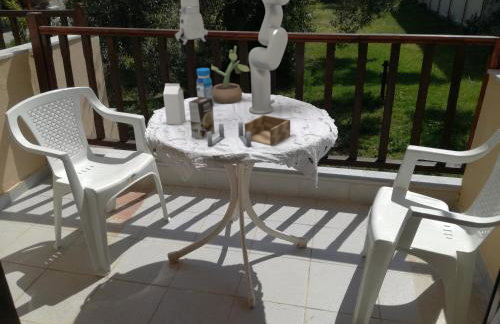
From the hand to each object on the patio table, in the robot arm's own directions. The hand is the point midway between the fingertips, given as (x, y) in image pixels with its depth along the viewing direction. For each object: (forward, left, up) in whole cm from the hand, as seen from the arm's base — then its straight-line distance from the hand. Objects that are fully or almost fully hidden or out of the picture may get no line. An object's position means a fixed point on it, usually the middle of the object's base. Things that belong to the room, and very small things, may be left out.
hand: (193, 52), depth 186 cm
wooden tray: (-3, +36, -34) cm, 50 cm away
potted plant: (-39, -13, -34) cm, 54 cm away
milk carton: (+3, -13, -34) cm, 37 cm away
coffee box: (+9, +10, -34) cm, 37 cm away
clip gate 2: (+5, +30, -34) cm, 46 cm away
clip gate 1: (+12, +20, -34) cm, 41 cm away
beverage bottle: (-24, -18, -34) cm, 46 cm away
